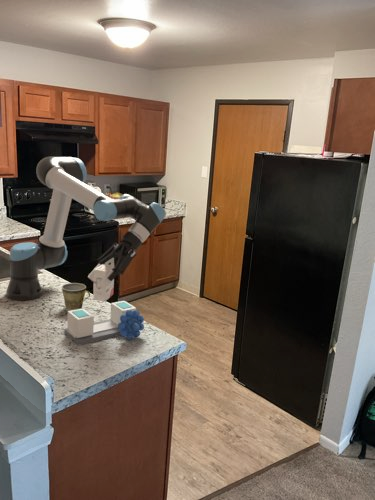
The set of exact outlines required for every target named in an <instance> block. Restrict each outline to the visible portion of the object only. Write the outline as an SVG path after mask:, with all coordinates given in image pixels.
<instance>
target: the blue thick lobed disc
mask: <svg viewBox="0 0 375 500" xmlns="http://www.w3.org/2000/svg"><path fill="white" fill-rule="evenodd" d="M144 320H145V318H144V316H143V315H141V314H140V311H139V310H137V309H136V310H134V311H132V310H127V311H126V315H121V316H120V321H121V322H120V323H119V324H118V328H119V330H121V332H120V333H121V335H120V336H121V337H123V338H126V339H127V340H129V341H130V340H131V341H132V340H133V339H134V337H135V338H138V337H140V336H141V331H143V330H144V329H145V325H144Z"/></svg>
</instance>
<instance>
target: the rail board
mask: <svg viewBox="0 0 375 500" xmlns="http://www.w3.org/2000/svg"><path fill="white" fill-rule="evenodd" d="M127 310H132V311H134V310H137V307H135V306H134V305H132V304H130V303H129V302H127V301H126V300H121V301H115V302H111V303H110V318H109V319H105V320H99V321H96V322H95V320H94V319H95V317H94V316H93V315H92V314H91V313H90V312H88V310H86V309H84V308H83V307H82V309H77V310H71V311H67V327H66V328H64V332H63V333H64V334H66V336H67V337H69V338H70V339H71V340H72V341H73V343H75V344H76V345H77V346H81V345H86V344H90V343H94V342H97V341H101V340H102V341H103V340H106V339H109V338H113V337H114V338H115V337H118V336H121V333H120V332H121V330H119V328H118V324H119V323H120V322H121V321H120V316H121V315H126V311H127Z"/></svg>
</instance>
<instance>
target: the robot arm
mask: <svg viewBox="0 0 375 500" xmlns="http://www.w3.org/2000/svg"><path fill="white" fill-rule="evenodd" d="M35 170H36V172H35V173H36V177H37V179H38V180H39V182H40V183H41V184H42V185H44V186H45V187H48V188H49V189H52V194H51V195H52V196H51V199H50V203H49V209H48V213H47V218H46V220H45V221H46V222H45V226H44V230H43V231H44V232H43V235H41V236H39V238H38V242H37V243H38V244H37V243H35V242H32V241H29V242H28V241H26V242H21V243H16V244H14V245H12V247H10V249H9V270H10V272H9V273H10V274H9V275H10V276H9V277H10V280H9V283H8V285H7V288H6V290H5V291H6V292H5V293H6V297H7V298H8V299H10V300H13V301H15V300H16V301H28V300H29V301H30V300H35V299H37V298H40V297H41V296H42V295H43V289H42V285H41V284H40V280H39V274H38V273H39V271H40V270H44V269H49V268H54V267H58V266H61V265H62V264H64V263H65V262H66V261H67V258H68V250H67V245H66V243H65V240H63V238H64V233H65V229H66V225H67V221H68V216H69V212H70V208H71V204H72V200H74V201H76V203H77V202H78V203H79V204H81V205H82V206H84V207H86V208H88V209H89V210H91V211H92V212H93V214H94V216H95V217H96V219H97V220H98V221H102V222H103V221H106V222H109V221H112V220H121V219H127V218H130V219H132V220H135V222H133V224H132V225H131V226H130V227H129V228H128V231H126V232H125V233H124V234H123V235H122V236H121V242H120V243H119V244H118V243H117V242H115V241H114V242H113V244H112V245H111V246H110V247H109V248H108V249H107V250H105V252H104V253H102V254H101V255H100V256H99V257H98V258H97V260H96V261H97V263H98V264H97V265H96V266H95V267H94V268H93V270H92V271H91V272H90V273H88V276H87V278H88V279H89V280H91V282H94V269H95V268H97V267H99V266H100V265H102V264H105V263H106V262H107V261H109V260H110V259H112V258H114V260H115V259H116V258H117V261H116V263H115V264H114V268H113V269H112V270H113V271H112V270H111V271H110V272H109V273H108V274H107V275H106V276H105V278H104V279H103V280H102V281H101V282H100V283H99V284H100V285H101V286H102V287H103V288H104V289H105V288H106V287H107V285H108V284H109V283H110V282H111V281H112V280H113V279H114V280H115V278H116V277H117V276H119V275H121V276H123V275H124V273H125V272H126V270H127V268H128V267H129V266H130V264H131V262H132V260H133V259H134V258H136V256H137V253H136V251H138V250H139V249H140V247H142V244H143V243H144V242H145V241H146V240H147V239H148V238H149V236H151V234H152V233H153V231H154V230H156V228H157V227H158V226H159V225H160V224H161V223H162V222H163V220H164V218H166V216H167V212H166V210H165V209H164V207H163V206H162V205H161V204H159V203H157V202H151V203H150V204H149V205H148V204H147V203H144V202H142V201H140V200H139V199H137V198H136V197H135V196H133V195H130V194H129V193H128V194H127V193H124V194H122V195H121V196H119V198H115V199H113V198H111V197H109V196H107V195H105V194H104V193H102V192H100V191H98V190H97V189H95V188H93V187H91V186H90V185H88V184H87V183H84V182H85V181H86V180H87V174H88V173H87V167H86V166H85V163H84V162H83V161H82V160H81V159H80V158H78V157H72V156H46V157H44V158H42V159H41V160H40V161H39V162H38V163H37V165H36V169H35Z"/></svg>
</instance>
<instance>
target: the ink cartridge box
mask: <svg viewBox="0 0 375 500" xmlns="http://www.w3.org/2000/svg"><path fill="white" fill-rule="evenodd" d="M114 267H115V259H114V258H112V259H110V260H109V261H107V262H106V263H105V264H102V265H100V266H99V267H97V268H95V267H94V268H95V269H94V268H93V270H94V281H93V288H92V289H93V290H92V291H93V294H92V295H93V300H94V301H99V302H100V301H101V302H106V301H107V300H109V299H110V298H111V297H112V296H114V293H115V292H114V290H115V287H114V285H115V278H114V279H113V280H112V281H111V282H110V283H109V284H108V285H107V287H106V288H105V289H104V288H103V287H102V286H101V285H100V284H99V283H100V282H101V281H102V280H103V279H104V278H105V276H106V275H107V274H108V273H109V272H110V271H111V270H112V269H113V268H114ZM112 271H113V270H112Z"/></svg>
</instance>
